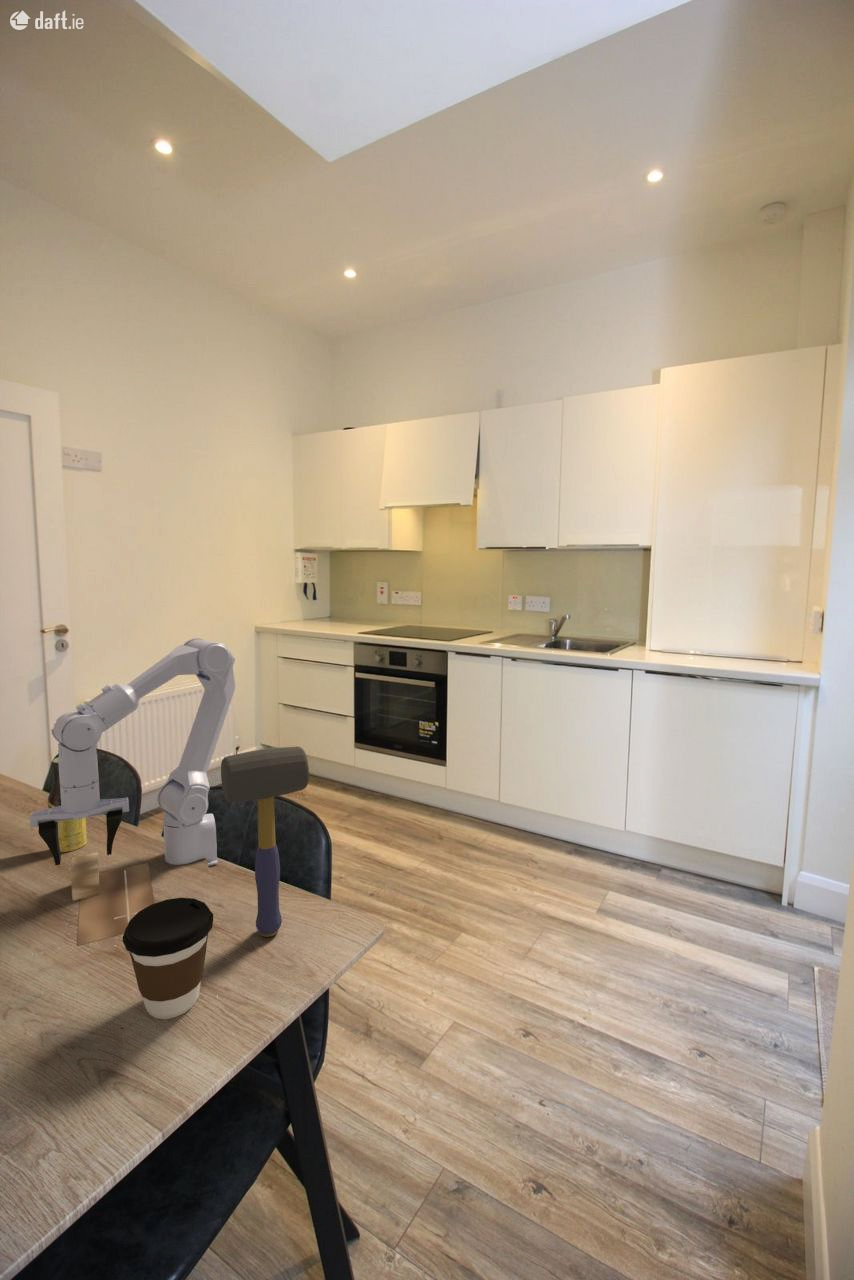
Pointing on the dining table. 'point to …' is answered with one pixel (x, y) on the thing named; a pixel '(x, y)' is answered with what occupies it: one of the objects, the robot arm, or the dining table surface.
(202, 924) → the coffee cup
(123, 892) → the walnut board
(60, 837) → the sauce bottle
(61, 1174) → the dining table surface
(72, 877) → the light wooden block
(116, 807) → the robot arm
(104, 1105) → the dining table surface
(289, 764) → the rubber mallet
